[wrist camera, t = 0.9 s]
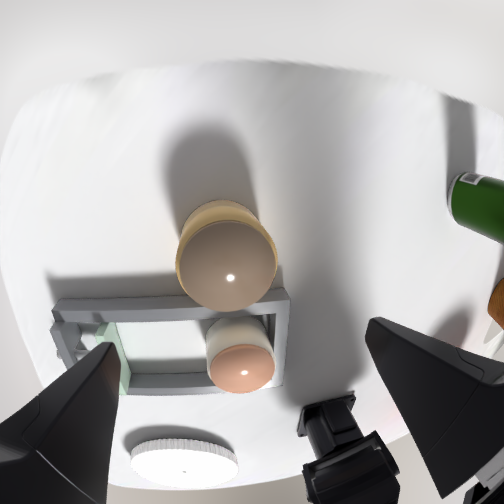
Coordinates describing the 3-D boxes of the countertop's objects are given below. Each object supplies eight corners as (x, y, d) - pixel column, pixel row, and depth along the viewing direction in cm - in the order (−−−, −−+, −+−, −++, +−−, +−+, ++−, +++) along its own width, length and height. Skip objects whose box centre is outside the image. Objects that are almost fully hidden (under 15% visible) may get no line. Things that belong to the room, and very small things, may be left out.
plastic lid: (121, 426, 25) (119, 443, 22) (240, 431, 28) (243, 448, 25) (141, 471, 29) (141, 484, 27) (232, 474, 32) (234, 487, 30)
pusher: (131, 373, 21) (126, 395, 19) (75, 370, 20) (67, 390, 18) (112, 315, 19) (103, 336, 17) (52, 314, 18) (39, 333, 16)
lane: (277, 372, 24) (286, 395, 21) (91, 379, 21) (84, 401, 19) (283, 287, 21) (295, 308, 18) (60, 298, 18) (45, 318, 15)
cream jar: (265, 358, 23) (276, 390, 20) (208, 363, 23) (210, 397, 19) (267, 311, 22) (279, 342, 18) (202, 316, 21) (203, 349, 17)
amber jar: (260, 274, 20) (278, 310, 16) (184, 279, 19) (180, 318, 15) (261, 198, 18) (282, 215, 14) (178, 202, 18) (169, 220, 13)
